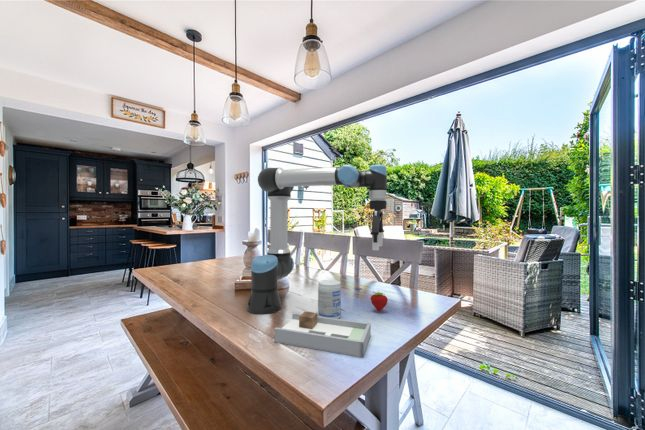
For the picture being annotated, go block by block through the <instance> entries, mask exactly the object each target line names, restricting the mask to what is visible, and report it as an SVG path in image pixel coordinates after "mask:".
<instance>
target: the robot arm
mask: <svg viewBox="0 0 645 430" xmlns="http://www.w3.org/2000/svg"><path fill="white" fill-rule="evenodd" d="M387 172H388V171H387V166H386V165H384V164H372V165H370V166H369V169H366V170H358V169H357V168H356V167H355V166H354V165H351V164H344V165H342V166H332V167H331V166H330V167H312V168H293V169H291V168H289V169H283V168H282V167H266V168H263V169H262V170H261V171H260V172H259V173H258V176H257V183H258V186H259V187H260V189H262V190H263V191H264V192H266V193H267V196H266V197H267V199H268V200H269V201H270V202H269V203H270V205H269V206H270V209H269V210H270V211H269V212H270V214H269V216H270V218H269V219H270V220H269V222H270V227H269V229H270V230H269V231H270V233H269V237H270V238H269V239H270V240H269V241H270V242H269V244H270V245H269V246H270V247H269V249H268V250H267V251H266V254H263V255H258V256H255V257H254V258H253V259H252V260H251V267H250V270H251V274H250V275H251V278H250V279H251V282H250V283H251V285H250V286H251V288H250V289H251V290H250V291H251V292H250V296H249V299H248V301H247V305H246V309H247V311H248V312H249V313H251V314H255V315H266V314H273V313H276V312H278V311H279V310H281V309H282V300H281V297H280V295H279V292H278V281H279V280H281V279H283V278H286V277H287V276H288V275H289V274H291V273H292V271H293V269H294V266H295V261H294V258H293V257H292V256H291V250H290V249H289V248H288V241H289V240H288V231H289V230H288V229H289V228H288V227H289V226H288V225H289V224H288V220H289V219H288V211H289V210H288V208H289V207H288V201H289V200H290V199H291V198H292V197H291V195H292V194H291V193H292V191H293V190H294V188H295V187H316V186H317V187H318V186H319V187H320V186H323V187H324V186H343V187H344V188H346V189H348V188H349V189H353V188H354V189H355V188H369V190H368V191H369V192H368V195H369V196H368V198H369V203H368V208H369V209H370V210H373V211H372V220H371V221H372V222H371V223H372V225H371V231H370V233H369V234H370V235H371V236H372V237H371V242H372V244H371V245H372V247H371V248H372V249H371V250H372V251H380V247H383V242H384V241H383V238H384V237H383V233H384V232H385V230H384V227H383V226H384V223H383V217H384V215H383V214H384V213H383V211H382V210H386V209H387V196H388V195H389V193H388V192H387V190H388V189H387V187H388V184H387V183H388V176H387V175H388V174H387Z"/></svg>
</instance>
